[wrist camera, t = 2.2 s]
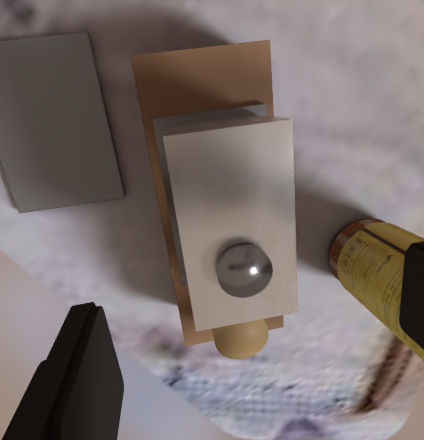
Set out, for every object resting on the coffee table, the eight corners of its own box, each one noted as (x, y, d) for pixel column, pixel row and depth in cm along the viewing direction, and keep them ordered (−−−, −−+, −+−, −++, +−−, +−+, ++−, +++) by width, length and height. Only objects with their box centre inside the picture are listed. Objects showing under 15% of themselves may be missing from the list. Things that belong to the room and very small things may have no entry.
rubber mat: (-36, 47, 18) (-42, 45, 18) (88, 33, 19) (86, 31, 18) (22, 211, 22) (19, 213, 21) (125, 195, 22) (124, 197, 22)
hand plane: (138, 66, 20) (123, 44, 13) (248, 53, 20) (292, 26, 13) (182, 307, 26) (188, 381, 19) (265, 292, 27) (300, 358, 20)
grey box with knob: (163, 127, 16) (162, 138, 11) (257, 115, 17) (298, 119, 12) (188, 277, 20) (197, 340, 14) (267, 264, 20) (302, 320, 15)
